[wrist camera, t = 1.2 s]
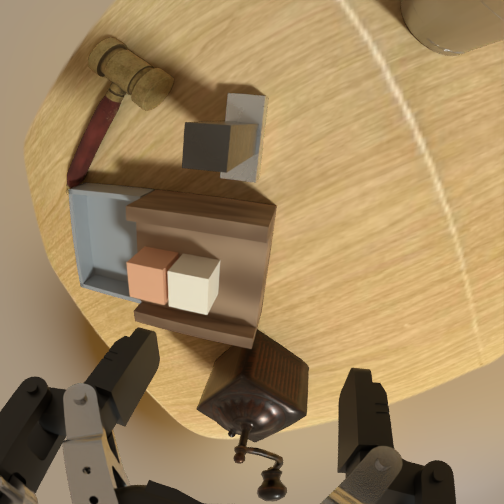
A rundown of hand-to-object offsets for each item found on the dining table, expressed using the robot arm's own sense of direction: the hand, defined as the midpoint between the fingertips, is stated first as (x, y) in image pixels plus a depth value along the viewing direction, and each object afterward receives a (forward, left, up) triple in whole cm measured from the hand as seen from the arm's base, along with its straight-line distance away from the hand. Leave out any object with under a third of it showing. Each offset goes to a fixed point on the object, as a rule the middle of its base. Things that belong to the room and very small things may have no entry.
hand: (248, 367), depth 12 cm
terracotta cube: (+7, -12, -18) cm, 23 cm away
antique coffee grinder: (+25, +2, -24) cm, 35 cm away
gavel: (-7, -23, -24) cm, 34 cm away
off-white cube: (+7, -8, -18) cm, 21 cm away
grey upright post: (-7, -5, -24) cm, 25 cm away
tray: (+7, -21, -23) cm, 32 cm away
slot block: (+7, -8, -23) cm, 26 cm away
